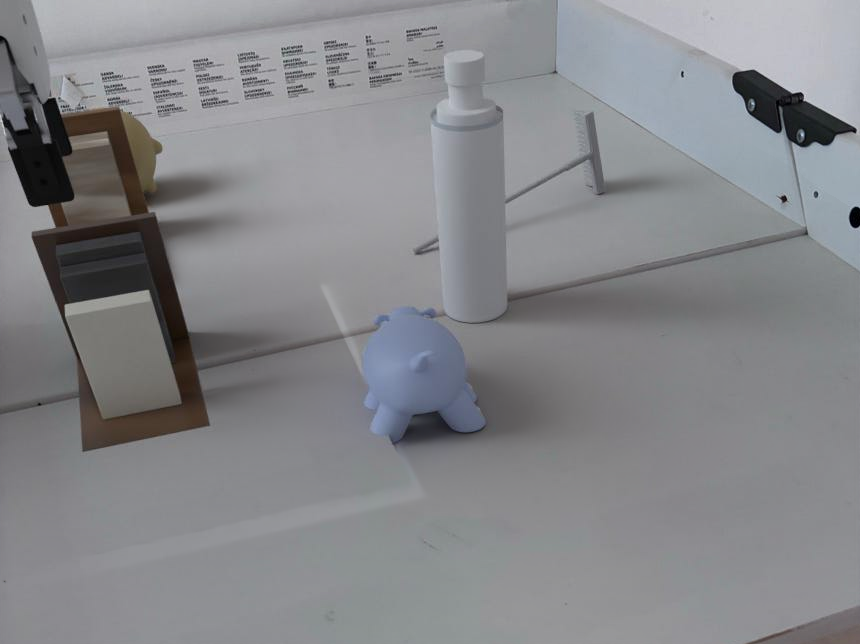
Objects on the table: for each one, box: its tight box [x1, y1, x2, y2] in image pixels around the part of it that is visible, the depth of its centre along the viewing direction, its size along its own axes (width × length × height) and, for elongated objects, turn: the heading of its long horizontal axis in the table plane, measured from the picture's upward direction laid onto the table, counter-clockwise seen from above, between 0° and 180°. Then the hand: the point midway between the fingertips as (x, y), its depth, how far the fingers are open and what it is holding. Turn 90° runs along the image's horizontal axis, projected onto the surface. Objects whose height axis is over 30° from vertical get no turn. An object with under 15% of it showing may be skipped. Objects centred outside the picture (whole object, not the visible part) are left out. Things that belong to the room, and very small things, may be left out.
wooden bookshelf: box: [47, 106, 150, 228], centre depth 109 cm, size 18×11×13 cm, turn 18°
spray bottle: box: [429, 49, 508, 324], centre depth 93 cm, size 7×7×25 cm
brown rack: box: [31, 211, 211, 453], centre depth 87 cm, size 18×11×13 cm, turn 18°
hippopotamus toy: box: [362, 305, 487, 445], centre depth 85 cm, size 11×15×10 cm
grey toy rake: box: [412, 107, 606, 255], centre depth 115 cm, size 4×28×9 cm, turn 124°
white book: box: [65, 290, 182, 420], centre depth 85 cm, size 2×7×10 cm, turn 108°
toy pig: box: [91, 106, 164, 194], centre depth 123 cm, size 10×12×11 cm
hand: (53, 178), depth 73 cm, fingers open, 9 cm apart
